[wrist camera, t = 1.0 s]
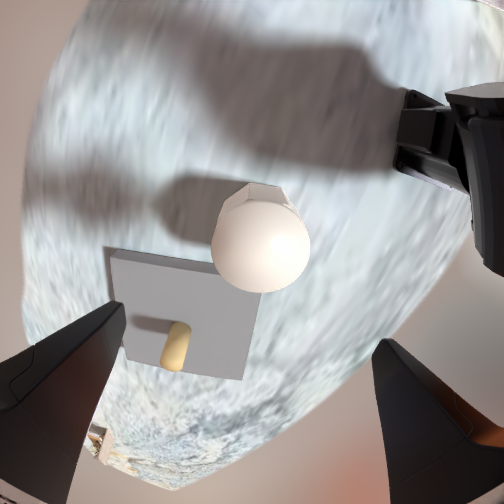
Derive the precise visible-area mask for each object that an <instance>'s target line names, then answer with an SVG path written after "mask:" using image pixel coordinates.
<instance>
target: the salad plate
mask: <svg viewBox="0 0 504 504" xmlns="http://www.w3.org/2000/svg"><path fill="white" fill-rule="evenodd" d="M477 1H479V2H482V3H484V4H486V5H488V6H491V7H493V8H495V9H497V10H500V11H503V12H504V0H477Z"/></svg>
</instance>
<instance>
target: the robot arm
mask: <svg viewBox="0 0 504 504" xmlns="http://www.w3.org/2000/svg"><path fill="white" fill-rule="evenodd" d="M411 94H413V95H414V99H413V98H412V97H411ZM445 96H446V99H447V102H449V103H450V106H445V105H443V104H441V103H439V102H437V101H435V100H434V99H432V98H430V97H428V96H426V95H424V94H422V93H420V92H418V91H416V90H408V91H407V92H406V96H405V103H404V109H403V110H402V111H401V117H400V123H399V128H398V133H397V139H396V142H397V147H396V151H395V156H394V160H393V168H394V169H395V170H396V171H398V172H401V173H404V174H407V175H410V176H413V177H416V178H418V179H421V180H424V181H427V182H429V183H432V184H434V185H437V186H440V187H442V188H444V189H447V190H449V191H453V190H454V189H457V190H459V191H462V192H464V193H466V194H468V195H470V200H471V210H472V220H471V226H472V230H473V231H474V241H475V247H476V249H477V250H478V252H479V253H480V255H481V257H482V258H483V264H484V265H485V266H486V267H487V268H489V269H490V270H491V271H493V272H494V273H496V274H498V275H500V276H502V277H504V82H495V83H484V84H479V85H475V86H470V87H466V88H461V89H457V90H453V91H449V92H445ZM399 162H401V167H400V168H399V167H398V164H399ZM126 324H127V321H126V314H125V307H124V304H123V303H122V302H118V301H113V300H112V301H110V302H108V303H106V304H104V305H103V306H101V307H99V308H97V309H95V310H94V311H92V312H90V313H88V314H87V315H85V316H83V317H81V318H79V319H78V320H76V321H74V322H72V323H71V324H69V325H67V326H65V327H64V328H62V329H60V330H58V331H57V332H55V333H53V334H51V335H50V336H48V337H46V338H45V339H43V340H41V341H39V342H38V343H36V344H35V346H34V345H32V346H31V347H29V348H27V349H26V350H24V351H22V352H20V353H19V354H17V355H15V356H13V357H11V358H9V359H7V360H5V361H3V362H1V363H0V504H39V501H40V500H41V501H43V502H45V503H47V504H66V501H67V497H68V493H69V490H70V486H71V482H72V479H73V475H74V472H75V469H76V465H77V462H78V459H79V455H80V452H81V449H82V446H83V443H84V440H85V438H86V435H87V432H88V429H89V426H90V423H91V421H92V418H93V415H94V413H95V410H96V408H97V405H98V402H99V400H100V397H101V395H102V392H103V390H104V387H105V385H106V383H107V380H108V378H109V376H110V373H111V371H112V368H113V366H114V363H115V360H116V357H117V354H118V350H119V347H120V344H121V341H122V338H123V335H124V332H125V329H126ZM372 368H373V377H374V386H375V394H376V400H377V405H378V411H379V416H380V421H381V427H382V433H383V440H384V447H385V454H386V461H387V468H388V477H389V487H390V489H389V490H390V502H391V504H504V428H503V427H500V426H498V425H496V424H495V423H493V422H492V421H491V420H489V419H488V418H487V417H485V416H484V415H483V414H481V413H480V412H479V411H477V410H476V409H475V408H473V407H472V406H471V405H470V404H469V403H467V402H466V401H465V400H464V399H462V398H461V397H460V396H459V395H458V394H457V393H456V392H455V393H454V391H453V390H452V389H451V388H450V387H449V386H448V385H446V384H445V383H444V382H443V381H442V380H441V379H440V378H438V377H437V376H436V375H435V374H434V373H432V372H431V371H430V370H429V369H428V368H427V367H425V366H424V365H423V364H422V363H421V362H420V361H418V360H417V359H416V358H415V357H414V356H412V355H411V354H410V353H409V352H408V351H407V350H405V349H404V348H403V347H402V346H400V345H399V344H398V343H397V342H396V341H394V340H393V339H391V338H383V339H382V340H381V341H380V342H379V344H378V345H377V347H376V349H375V350H374V352H373V354H372Z"/></svg>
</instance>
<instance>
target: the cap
mask: <svg viewBox="0 0 504 504" xmlns="http://www.w3.org/2000/svg"><path fill="white" fill-rule="evenodd" d="M211 255H212V259H213V262H214V265H215V267H216V269H217V271H218V272H219V273H220V275H221V276H222V277H223V278H224V279H225V280H226V281H227V282H229V283H230V284H231V285H233V286H235V287H237V288H239V289H241V290H245V291H248V292H255V293H266V292H272V291H276V290H279V289H281V288H283V287H285V286H287V285H289V284H290V283H292V282H293V281H294V280H295V279H297V278H298V276H299V275H300V274H301V273H302V271H303V270H304V268H305V266H306V264H307V262H308V259H309V255H310V240H309V234H308V232H307V230H306V227H305V225H304V223H303V221H302V219H301V217H300V215H299V213H298V211H297V210H296V208H295V207H294V205H293V204H292V202H291V201H290V199H289V198H288V197H287V195H286V194H285V192H284V191H283V189H282V188H281V187H275V186H269V185H263V184H256V183H248V184H247V185H246V186H244V187H243V188H241V189H240V190H239V191H237V192H236V193H234V194H233V195H232V196H230V197H229V198H227V199H226V200H225V201H224V204H223V206H222V209H221V212H220V214H219V217H218V220H217V224H216V229H215V231H214V234H213V237H212V242H211Z"/></svg>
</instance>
